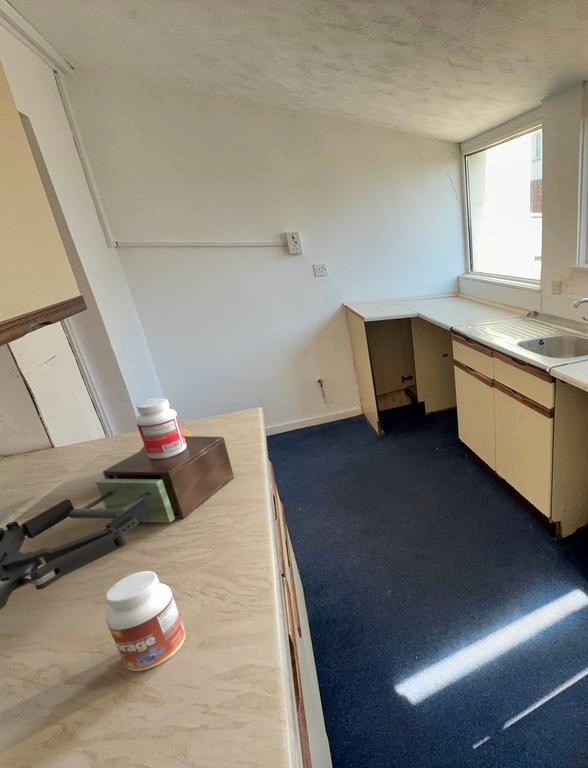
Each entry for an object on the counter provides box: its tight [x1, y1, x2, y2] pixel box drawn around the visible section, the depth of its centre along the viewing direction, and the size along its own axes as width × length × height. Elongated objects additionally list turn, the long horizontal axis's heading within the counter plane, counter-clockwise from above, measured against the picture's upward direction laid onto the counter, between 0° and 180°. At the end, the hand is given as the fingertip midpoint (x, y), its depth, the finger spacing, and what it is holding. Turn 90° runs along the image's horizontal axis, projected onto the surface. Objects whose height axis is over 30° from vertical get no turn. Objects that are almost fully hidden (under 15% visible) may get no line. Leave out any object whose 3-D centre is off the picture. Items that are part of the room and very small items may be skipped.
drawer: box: [68, 475, 178, 523], centre depth 77 cm, size 20×11×9 cm, turn 179°
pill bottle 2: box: [105, 570, 186, 672], centre depth 51 cm, size 6×6×11 cm
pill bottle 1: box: [135, 397, 186, 459], centre depth 79 cm, size 6×6×11 cm
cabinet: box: [102, 435, 235, 520], centre depth 83 cm, size 15×13×11 cm
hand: (109, 506), depth 69 cm, fingers open, 13 cm apart
